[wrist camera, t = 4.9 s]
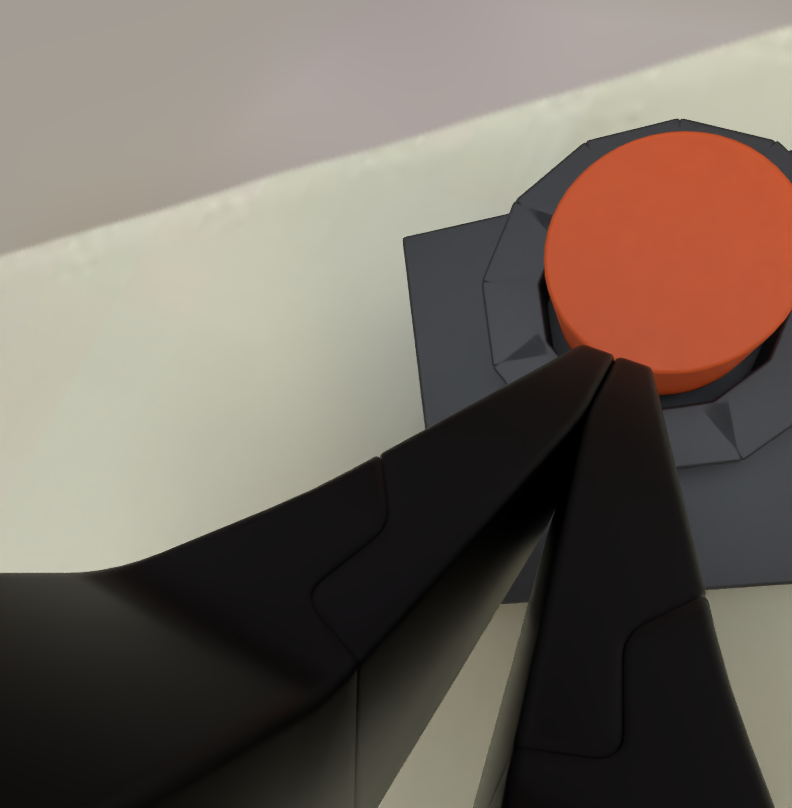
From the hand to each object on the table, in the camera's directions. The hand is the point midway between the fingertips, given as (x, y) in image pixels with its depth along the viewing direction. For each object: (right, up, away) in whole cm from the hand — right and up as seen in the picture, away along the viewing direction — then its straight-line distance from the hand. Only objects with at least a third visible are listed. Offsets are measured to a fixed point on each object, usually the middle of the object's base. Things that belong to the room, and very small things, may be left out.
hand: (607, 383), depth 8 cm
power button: (+3, +2, +6) cm, 7 cm away
